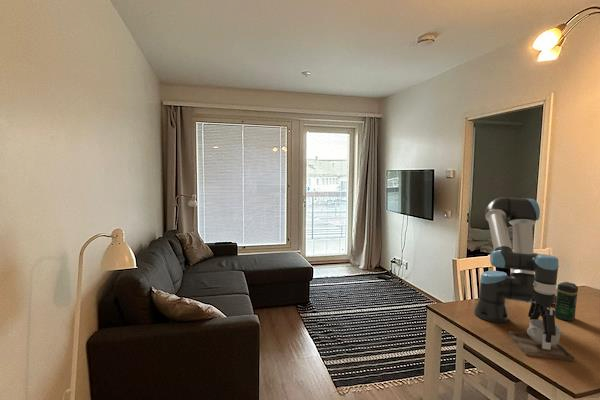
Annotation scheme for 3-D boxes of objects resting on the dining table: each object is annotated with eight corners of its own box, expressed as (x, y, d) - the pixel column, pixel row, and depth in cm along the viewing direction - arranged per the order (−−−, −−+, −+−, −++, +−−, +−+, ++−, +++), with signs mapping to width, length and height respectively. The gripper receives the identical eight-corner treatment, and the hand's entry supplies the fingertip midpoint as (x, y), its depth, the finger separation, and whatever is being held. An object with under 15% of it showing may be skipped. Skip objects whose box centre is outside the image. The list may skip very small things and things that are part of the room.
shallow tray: (508, 334, 146) (508, 330, 146) (551, 340, 142) (551, 336, 142) (525, 354, 129) (525, 350, 129) (574, 361, 125) (574, 357, 125)
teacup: (545, 336, 141) (547, 319, 140) (566, 350, 130) (568, 331, 129) (515, 336, 140) (516, 318, 140) (533, 349, 129) (535, 330, 129)
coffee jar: (571, 323, 160) (575, 287, 158) (552, 317, 166) (555, 282, 165) (576, 318, 166) (580, 283, 164) (557, 312, 172) (561, 279, 170)
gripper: (522, 281, 146) (517, 328, 148) (548, 301, 123) (542, 355, 125) (540, 283, 144) (536, 330, 146) (570, 303, 122) (565, 358, 123)
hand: (539, 341), depth 136 cm, fingers closed on teacup, 11 cm apart
